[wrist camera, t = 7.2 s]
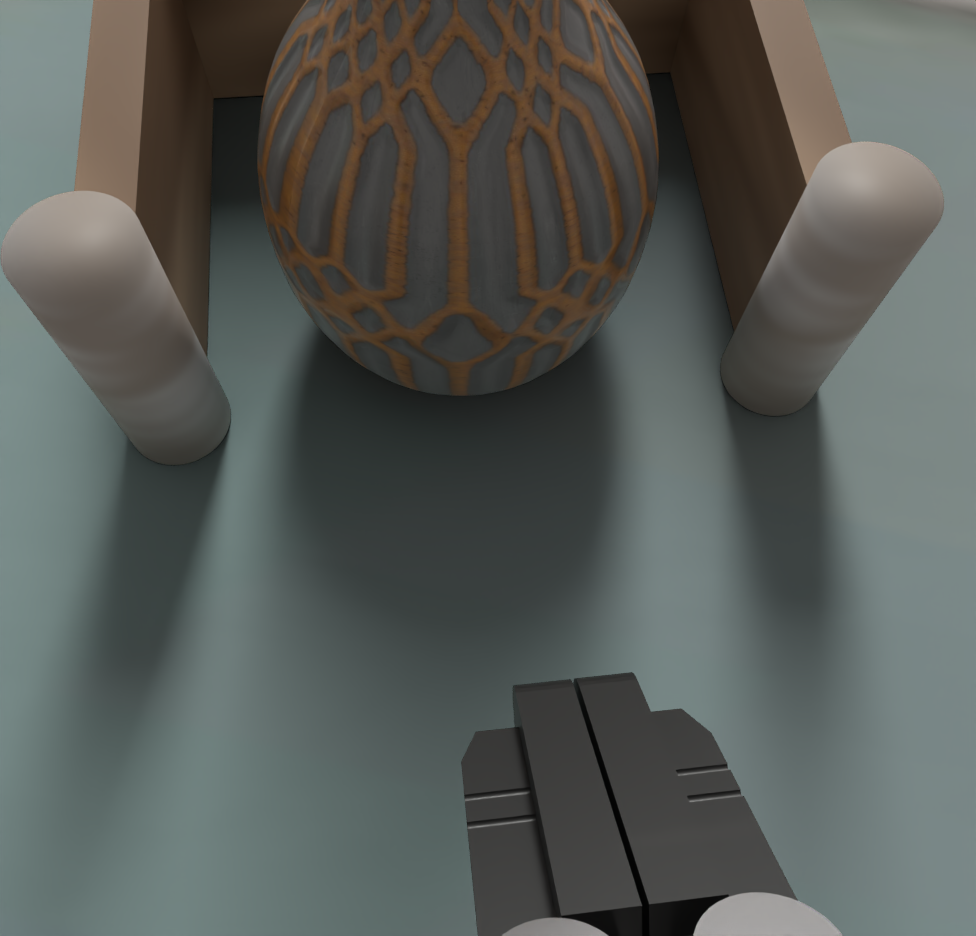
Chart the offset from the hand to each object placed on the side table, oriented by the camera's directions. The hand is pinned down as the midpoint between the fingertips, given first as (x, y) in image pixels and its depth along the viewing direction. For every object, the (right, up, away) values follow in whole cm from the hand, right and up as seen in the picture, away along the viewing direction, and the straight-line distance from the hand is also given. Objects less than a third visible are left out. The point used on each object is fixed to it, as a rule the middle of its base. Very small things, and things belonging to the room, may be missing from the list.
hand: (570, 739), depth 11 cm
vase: (-2, +7, +8) cm, 11 cm away
